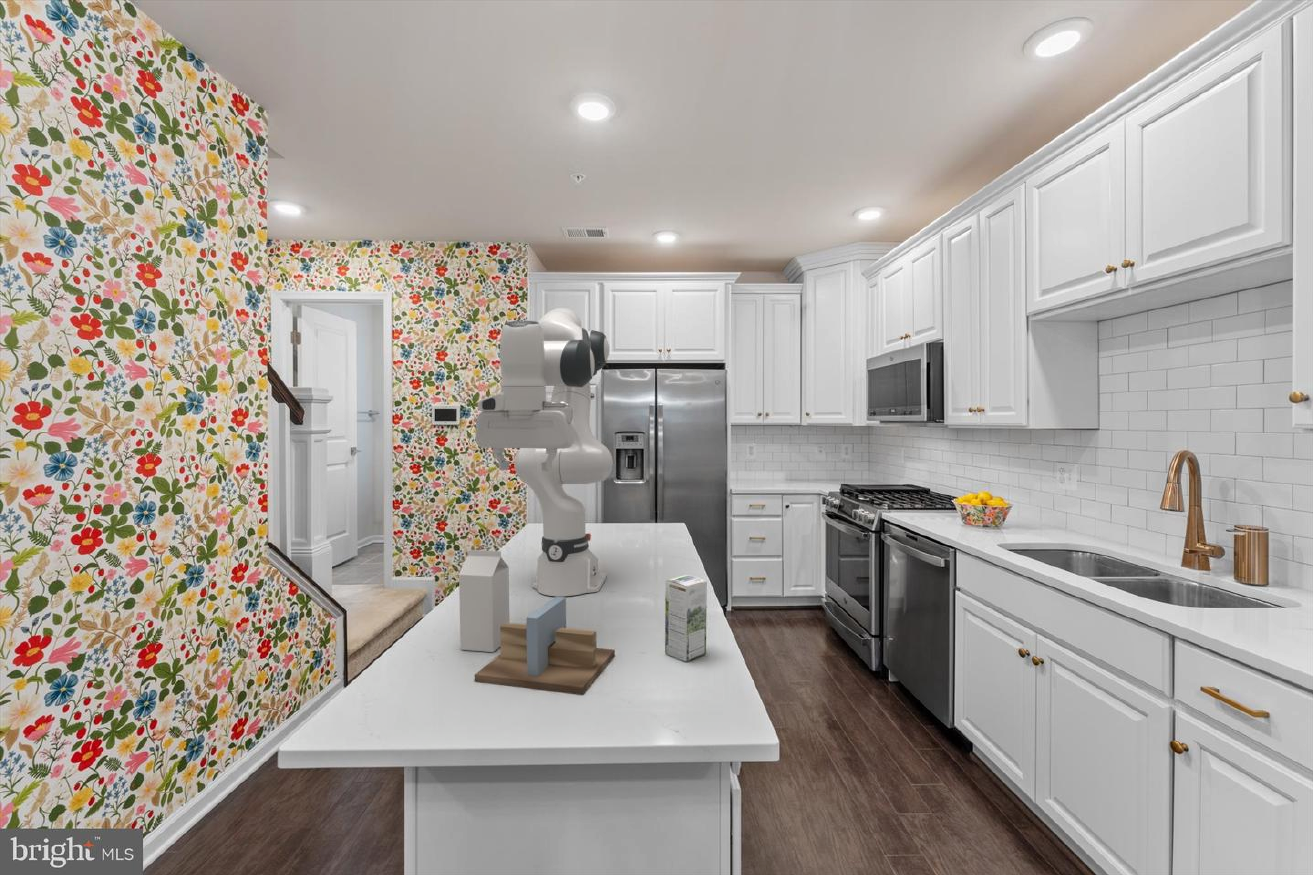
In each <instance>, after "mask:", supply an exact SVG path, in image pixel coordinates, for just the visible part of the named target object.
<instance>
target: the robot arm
mask: <svg viewBox="0 0 1313 875" xmlns="http://www.w3.org/2000/svg"><path fill="white" fill-rule="evenodd" d="M500 333H501V334H500V342H499V367H500V370H501V375H502V376H501V377H502V378H501V381H500V392H499V393H496V394H493V395H491V396H488V397H485V398H483V399H480V400H478V401H477V409H478V411H480V412H479V413H478V414H477V417H476V419H475V443H476V444H477V445H478V447H479V448H482V449H483V448H487V449H488V448H490V449H492V454H493V456H494V457H495V459H496V461H497V462H498V470H499V471H509V470H510V461H509V460H506V458H505V456H504V455H503V453H505V449H519V450H518V451H517V452H516V454H515V457H514V465H513V466H514V470H515V473H516V475H517V477H518V478H519V479H520V480H521V481H522V482H523V483H525V484H526V485H527V486H528V487H529V488H531V490H532V492H533V493H534V495H535V496H536V498H537V499H538V502H539V504H540V509H541V516H542V529H543V530H542V534H543V536H542V537H541V543H540V545H541V551H542V553H541V554H540V555H539V556H538V558H537V567H536V580H535V581H534V582H532V586H531V587H532V588H533V589H535V590H537V592H538V593H540V594H541V595H544V596H550V597H571V596H578V595H584V594H587V593H589V594H590V593H596V592H599V591H601V588H602V586H603V584H604V583H605V580H606V579H607V574H606V573H605V572H601V571H599V559H598V557H597V556H596V555H595V554H594V553H593V552H592V551H591V550H590V548H589V547H590V545H589V542H591V539H592V534H591V533H586V509H585V507H584V505H583V503H582V502H581V501H580V500H579V499H577V498H574V497H573V496H571V495H569V494H567V493H566V491H565V490H564V487H563V485H589V484H594V483H601V482H604V481H606V480H607V479H608V478H609V476H610V475H611V472H612V470H613V464H614V462H613V460H614V459H613V456H612V453H611V452H610V450H609V449H608V447H607V446H606V445H604V443H602V442H600V441H599V440H598V439H597V438H596V437H595V436H594V434H593V432H592V430H591V425H590V424H591V423H590V416H591V415H590V413H591V412H590V410H591V402H592V401H591V396H592V393H591V392H592V391H591V389H592V388H591V382H590V381H591V380H592V379H593V376H597V374H598V372H599V371H600V370H601V369H603V368H604V367H605V365H606V363H607V362H608V359H609V356H610V344H609V342H608V339H607V336H606V334H604V332H602V331H598V330H594V329H593V330H587V329H585V328H584V327H582V321H581V319H580V317H579V315H578V314H577V313H576V312H575V311H574V310H572V309H571V308H566V307H557V308H554V309H552V310H549V311H548V312H546V313H544V315H543V316H541V317H540V319H539V320H538V321H535V320H517V321H516V320H511V321H508V322H506V323H504V324H503V325H502V328H501V332H500ZM547 387H553V389H552V394H551V397H550V398H551V399H550V401H547V390H546V389H547Z"/></svg>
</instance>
